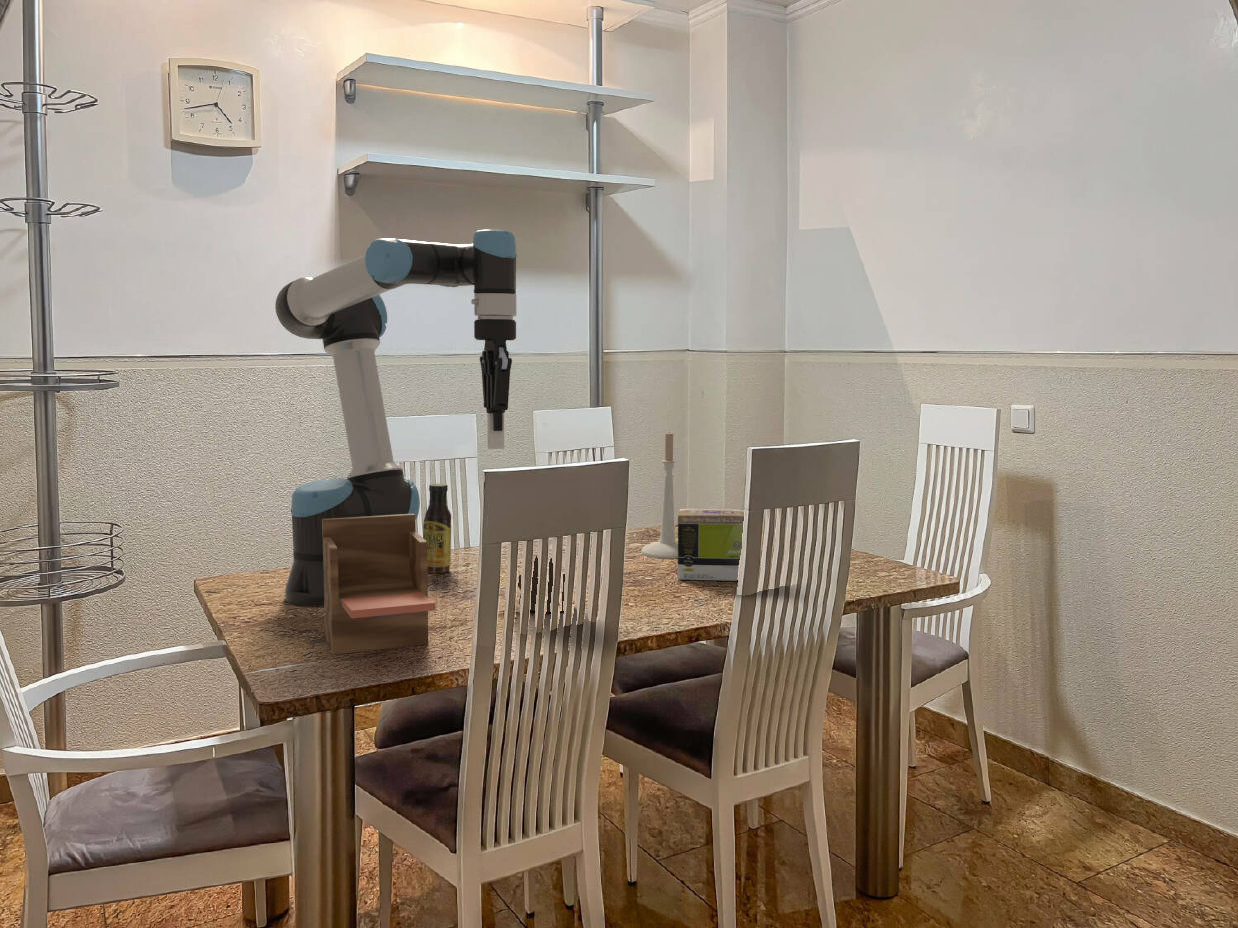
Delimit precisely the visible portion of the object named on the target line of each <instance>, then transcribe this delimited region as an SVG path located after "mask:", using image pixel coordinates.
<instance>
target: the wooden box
mask: <svg viewBox="0 0 1238 928" xmlns="http://www.w3.org/2000/svg"><path fill="white" fill-rule="evenodd" d="M416 528H417V527H416V520H415V514H399V515H382V516H365V517H348V518H331V519H322V542H323V577H324V606H323V608H324V609H323V610H324V636H325V639H326V641H327V644H328V647H329V648H330V651H331V654H332V655H340V654H341V655H342V654H343V655H344V654H349V653H350V654H353V653H358V652H359V653H360V652H367V651H368V652H369V651H377V650H378V651H379V650H387V649H397V648H404V647H405V648H406V647H415V646H416V647H417V646H422V645H429V643H430V642H429V611H423V612H413V613H409V615H400V616H390V617H379V618H377V617H376V616H371V617H361V618H351V617H350V616H349V614H348V613H347V612H346V611H345V610H344V608H343V607H342V605H341V606H340V605H339V599H347V598H359V597H370V596H381V595H392V594H404V593H415V592H422V594H424V595H425V596H426V597H428V598H429V595H428V592H429V590H428V588H429V587H428V583H429V582H428V579H429V578H428V573H427V541H426V540H424V539H423V536H421V534H420V533H418V531H416Z"/></svg>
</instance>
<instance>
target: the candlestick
mask: <svg viewBox="0 0 1238 928" xmlns="http://www.w3.org/2000/svg"><path fill="white" fill-rule="evenodd" d="M664 435H665V436H664V459H662V460H661V462H662V464H663V466H662V467H663V469H664V471H665V472H664V473H665V474H664V475H663V477H664V481H663V495H662V507H661V508H662V510H661V521H660V522H661V524H660V534H659V535H660V537H659V541H655V542H651V543H649V544H646V545H645V546H643V547H642V548H641V551H640V552H641V554H642V555H643V556H645V557H649V558H655V559H662V560H663V559H669V560H670V559H672V560H673V559H676V560H677V559H678V541H677V540H676V533H675V506H674V481H673V480H674V476H673V469H674V468H675V463H676V462H677V460H674V433H673V432H666V433H664Z"/></svg>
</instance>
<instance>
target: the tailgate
mask: <svg viewBox="0 0 1238 928" xmlns="http://www.w3.org/2000/svg"><path fill="white" fill-rule="evenodd" d="M339 605H340V606H341V605H342V607H343V608H344V610H345V611H346V612H347V613H348V614H349V616H350V617H351V618H361V617H371V616H376V617H377V618H379V617H390V616H400V615H409V613H413V612H423V611H428V612H432V611H436V610H437V609H436V602H435V601H433V600H432V599H431V598H429V596H428V597H426V596H425V595H424V594H422V592H415V593H404V594H392V595H381V596H370V597H359V598H347V599H339Z"/></svg>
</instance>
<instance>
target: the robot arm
mask: <svg viewBox="0 0 1238 928" xmlns="http://www.w3.org/2000/svg"><path fill="white" fill-rule="evenodd" d="M516 245H517V244H516V237H515V235H514V233H513V232H511V231H508V230H504V229H503V230H502V229H482V230H481V229H480V230H476V231H474V234H473V239H472V243H471V244H470V243H469V244H467V243H466V244H465V243H464V244H463V243H462V244H454V243H453V244H452V243H443V242H442V243H441V242H432V241H431V242H429V241H420V240H419V241H418V240H410V239H400V238H395V237H390V238H377V239H375V240H372V241H371V242H370V244H369V246H368V247H367V248H366V250H365V254H364V255H362V256H359V257H357V258H355V259H352V260H351V261H348V262H346V263H343V264H341V265H339V266H338V267H334V268H333V269H332V268H331V270H328V271H326V272H323V273H321V274H319V275H318V276H315V277H306V276H304V277H300V278H297V279H295V280H293V281H290V282H288V283H287V284H286V285H284V286H283V287H281V289H280V291H279V292H278V294H277V296H276V299H275V313H276V317H277V319H278V321H279V323H280V324H281V325H282V327H284V329H285V330H286V331H287V332H289V333H291V334H292V335H294V336H296V337H299V338H303V339H309V340H322V345H323V349H324V352H325V353H327V354H328V355H329V356H331V357H332V359H333V364H334V369H335V375H336V381H337V387H338V391H339V392H338V393H339V398H340V400H339V401H340V403H341V410H342V416H343V421H344V422H343V423H344V427H345V433H346V440H347V445H348V449H349V450H348V451H349V456H350V462H351V471H350V472H349V474H348V475H347V477H346V478H330V479H319V480H314V481H310V482H306V483H305V484H301V485H299V486H297V488H295V490H294V491H293V492H292V496H291V508H290V513H291V522H292V523H291V524H292V525H291V527H292V553H293V554H292V555H293V561H292V565H291V568H290V571H289V575H288V578H287V581H286V585H285V590H284V591H285V592H284V593H285V594H284V595H285V597H284V598H285V601H286V602H287V603H289V604H290V605H296V606H303V607H324V577H323V542H322V519H331V518H348V517H365V516H382V515H399V514H415V521H416V520H417V519H418V515H419V512H420V506H421V505H420V503H421V501H420V500H421V499H420V493H419V490H418V487H417V485H415V483H414V481H413V480H411V479H410V478H408V477H405V476H404V471H403V467H401V466H400V465H398V464H397V463H396V462H395V461H394V456H393V455H394V454H393V450H392V445H391V440H390V434H389V427H388V421H387V416H386V411H385V405H384V400H383V393H382V387H381V383H380V377H379V370H378V365H377V359H376V353H375V352H376V350H377V349H378V348H379V346H380V345H381V341H380V338H381V337H382V336H383V335H384V334H385V332H386V329H387V325H386V324H387V323H388V312H387V307H386V304H385V302H384V300H383V298H382V296H381V295H382V294H385V293H386V292H389V291H391V290H393V289H397V288H400V287H402V286H404V285H409V284H410V285H412V284H413V285H428V286H429V285H432V286H433V285H434V286H441V287H445V288H447V287H448V288H451V287H452V288H458V287H466V286H473V287H474V288H473V294H474V296H473V297H474V298H472V299H471V303H470V304H472V305H474V316H475V317H477V319H475V321H473V324H474V325H473V326H474V327H473V329H474V331H473V332H474V333H473V335H474V339H475V340H476V341H484V345H483V346H484V349H483V350H482V352H481V355H480V357H479V363H480V368H481V369H480V370H481V380H482V381H481V382H482V383H481V384H482V396H483V399H482V400H483V407H484V409H486V413H487V449H488V450H500V449H501V450H504V449H505V413H506V411H508V409H509V395H510V394H509V393H510V381H511V380H510V377H511V369H512V364H513V360H512V357H510V354H509V353H510V352H509V350H508V348H507V341H514V340H516V339H517V321H516V320H515V319H514V317H516V316H517V291H516V290H517V257H518V254H517V247H516Z"/></svg>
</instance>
